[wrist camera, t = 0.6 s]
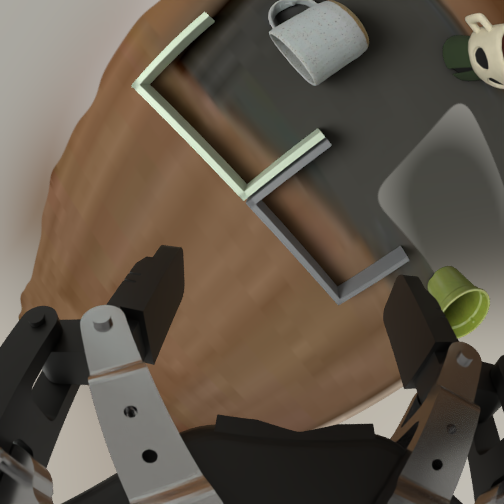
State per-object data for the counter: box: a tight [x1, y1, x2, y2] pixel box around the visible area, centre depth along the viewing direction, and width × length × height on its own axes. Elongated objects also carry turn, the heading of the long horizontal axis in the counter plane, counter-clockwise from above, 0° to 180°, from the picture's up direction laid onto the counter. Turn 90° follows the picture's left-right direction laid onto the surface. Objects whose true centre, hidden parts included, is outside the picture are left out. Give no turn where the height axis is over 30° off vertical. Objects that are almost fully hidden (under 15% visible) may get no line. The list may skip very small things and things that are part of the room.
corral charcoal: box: [246, 138, 409, 305], centre depth 37 cm, size 12×20×3 cm, turn 42°
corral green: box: [131, 12, 325, 201], centre depth 31 cm, size 12×20×3 cm, turn 42°
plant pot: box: [428, 266, 490, 339], centre depth 38 cm, size 9×9×9 cm
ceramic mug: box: [268, 0, 369, 86], centre depth 24 cm, size 11×8×8 cm
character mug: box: [443, 13, 504, 89], centre depth 19 cm, size 11×7×13 cm, turn 52°
